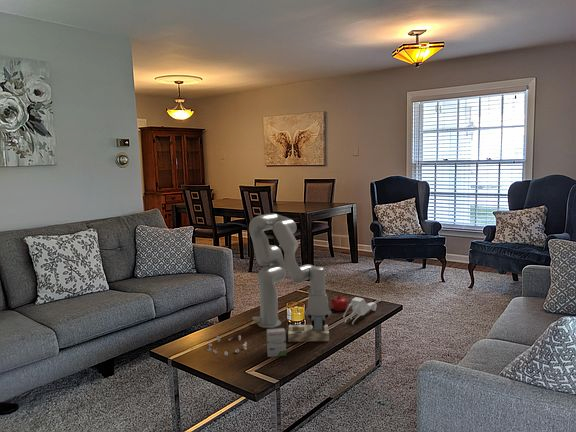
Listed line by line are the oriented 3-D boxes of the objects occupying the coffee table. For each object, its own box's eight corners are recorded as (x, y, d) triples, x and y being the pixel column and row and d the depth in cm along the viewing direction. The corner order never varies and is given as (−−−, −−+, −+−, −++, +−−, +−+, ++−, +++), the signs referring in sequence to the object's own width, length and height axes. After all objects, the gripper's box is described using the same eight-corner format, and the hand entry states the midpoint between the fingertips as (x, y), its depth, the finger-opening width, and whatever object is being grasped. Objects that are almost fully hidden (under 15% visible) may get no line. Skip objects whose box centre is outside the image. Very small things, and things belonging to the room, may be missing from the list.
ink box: (285, 351, 214) (284, 327, 213) (286, 356, 209) (285, 331, 208) (267, 352, 213) (266, 328, 212) (267, 357, 208) (266, 332, 207)
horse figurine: (357, 339, 251) (380, 309, 269) (350, 313, 244) (374, 284, 262) (348, 337, 255) (371, 307, 273) (341, 311, 247) (365, 282, 265)
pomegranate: (351, 309, 273) (351, 293, 272) (341, 313, 266) (340, 297, 265) (337, 305, 280) (337, 290, 279) (327, 309, 273) (327, 294, 271)
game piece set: (203, 343, 227) (203, 336, 226) (242, 337, 234) (242, 330, 233) (211, 359, 209) (210, 351, 208) (253, 352, 215) (253, 344, 215)
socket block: (288, 341, 226) (288, 333, 226) (289, 332, 238) (288, 324, 237) (329, 341, 225) (329, 332, 225) (327, 332, 237) (327, 324, 237)
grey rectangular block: (314, 332, 229) (314, 317, 228) (314, 329, 233) (314, 314, 232) (322, 332, 229) (322, 317, 228) (322, 329, 233) (321, 314, 232)
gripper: (301, 294, 225) (301, 330, 228) (335, 293, 225) (335, 329, 227) (301, 289, 233) (301, 324, 235) (334, 289, 232) (334, 324, 234)
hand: (318, 326), depth 231 cm, fingers closed on grey rectangular block, 3 cm apart
